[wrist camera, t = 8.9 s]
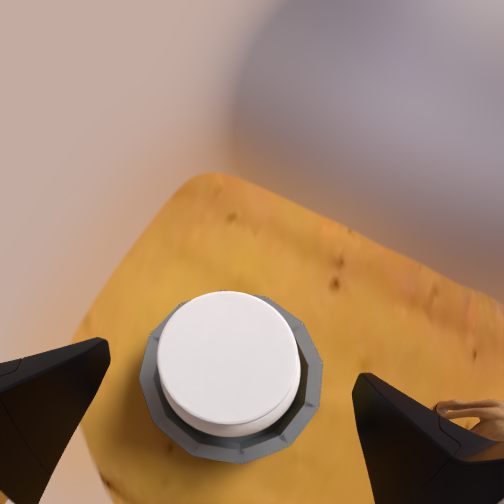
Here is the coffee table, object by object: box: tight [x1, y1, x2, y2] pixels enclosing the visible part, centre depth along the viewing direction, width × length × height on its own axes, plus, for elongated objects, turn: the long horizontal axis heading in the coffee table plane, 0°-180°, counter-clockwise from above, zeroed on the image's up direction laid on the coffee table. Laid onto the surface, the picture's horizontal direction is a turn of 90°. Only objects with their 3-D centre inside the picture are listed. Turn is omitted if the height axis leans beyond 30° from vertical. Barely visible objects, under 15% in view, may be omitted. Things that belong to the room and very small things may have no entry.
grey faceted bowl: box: [139, 290, 323, 464], centre depth 14 cm, size 10×10×3 cm
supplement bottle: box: [157, 291, 300, 437], centre depth 11 cm, size 5×5×10 cm
